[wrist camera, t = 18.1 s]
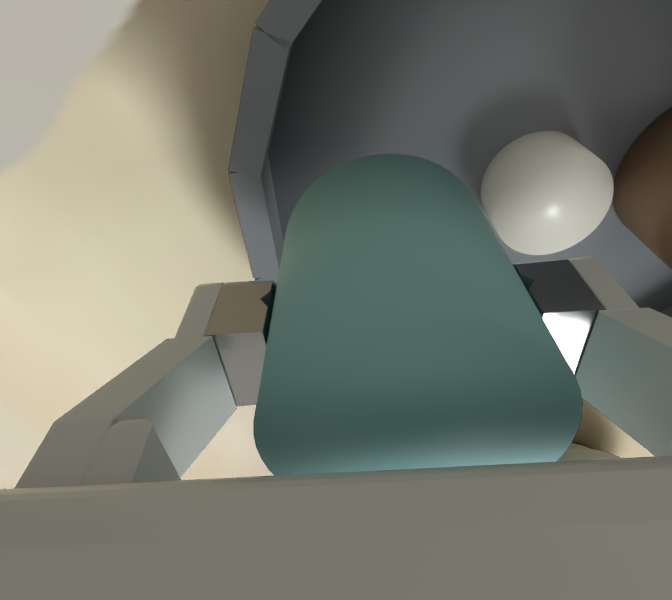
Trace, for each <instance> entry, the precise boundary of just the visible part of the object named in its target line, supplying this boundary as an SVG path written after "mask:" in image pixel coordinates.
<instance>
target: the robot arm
mask: <svg viewBox="0 0 672 600" xmlns="http://www.w3.org/2000/svg"><path fill="white" fill-rule="evenodd" d="M512 265H513V267H514V268H515V270H516V272H517V274H518V275H519V277H520V279H521V281H522V283H523V284H524V286H525V288H526V290H527V291H528V293H529V295H530V297H531V298H532V300H533V302H534V304H535V306H536V307H537V309H538V311H539V313H540V314H541V316H542V318H543V320H544V321H545V323H546V325H547V327H548V329H549V330H550V332H551V334H552V336H553V337H554V339H555V341H556V343H557V344H558V346H559V348H560V350H561V352H562V353H563V355H564V357H565V359H566V360H567V362H568V364H569V366H570V367H571V369H572V371H573V373H574V375H575V377H576V379H577V382H578V384H579V387H580V389H581V395H582V398H583V399H584V400H586V401H587V402H588V403H589V404H591V405H592V406H593V407H594V408H596V409H597V410H598V411H599V412H601V413H602V414H603V415H604V416H606V417H607V418H608V419H609V420H611V421H612V422H613V423H614V424H616V425H617V426H618V427H619V428H621V429H622V430H623V431H624V432H626V433H627V434H628V435H629V436H631V437H632V438H633V439H634V440H636V441H637V442H638V443H639V444H641V445H642V446H643V447H644V448H646V449H647V450H648V451H649V452H651V453H652V454H653V455H654V456H656V457H638V458H618V459H598V460H578V461H557V462H538V463H518V464H498V465H478V466H458V467H438V468H418V469H398V470H378V471H358V472H338V473H318V474H298V475H277V476H257V477H237V478H217V479H197V480H181V476H182V475H183V474H184V473H185V471H186V470H187V469H188V468H189V467H190V465H191V464H192V463H193V462H194V460H195V459H196V458H197V457H198V456H199V454H200V453H201V452H202V451H203V449H204V448H205V447H206V446H207V444H208V443H209V442H210V441H211V440H212V438H213V437H214V436H215V435H216V433H217V432H218V431H219V430H220V429H221V427H222V426H223V425H224V424H225V422H226V421H227V420H228V419H229V417H230V416H231V415H232V414H233V413H234V411H235V410H236V409H237V408H236V406H245V405H256V404H257V398H258V393H259V387H260V381H261V375H262V369H263V363H264V357H265V351H266V346H267V340H268V334H269V328H270V322H271V316H272V310H273V304H274V299H275V293H276V287H277V284H276V282H275V281H274V280H268V281H248V282H228V283H212V284H200V285H199V286H197V287H196V288H195V290H194V293H193V295H192V297H191V300H190V302H189V305H188V307H187V309H186V312H185V314H184V317H183V319H182V321H181V324H180V326H179V329H178V331H177V333H176V336H175V338H173V339H166V340H165V341H163V342H162V343H161V344H159V345H158V346H157V347H155V348H154V349H153V350H151V351H150V352H148V353H147V354H146V355H144V356H143V357H142V358H140V359H139V360H138V361H136V362H135V363H134V364H132V365H131V366H129V367H128V368H127V369H125V370H124V371H123V372H121V373H120V374H119V375H117V376H116V377H115V378H113V379H112V380H110V381H109V382H108V383H106V384H105V385H104V386H102V387H101V388H100V389H98V390H97V391H96V392H94V393H93V394H91V395H90V396H89V397H87V398H86V399H85V400H83V401H82V402H81V403H79V404H78V405H77V406H75V407H74V408H72V409H71V410H70V411H68V412H67V413H66V414H64V415H63V416H62V417H60V418H59V419H58V420H56V421H55V422H54V423H53V425H52V426H51V428H50V430H49V431H48V433H47V435H46V436H45V438H44V440H43V441H42V443H41V445H40V446H39V448H38V450H37V451H36V453H35V455H34V456H33V458H32V460H31V461H30V463H29V465H28V467H27V468H26V470H25V472H24V473H23V475H22V477H21V478H20V480H19V482H18V483H17V485H16V487H15V488H14V489H0V600H672V318H671V317H669V316H667V315H665V314H662V313H660V312H658V311H656V310H653V309H651V308H639V307H638V305H637V304H636V303H635V302H634V301H633V300H632V299H631V297H630V296H629V295H628V294H627V293H626V292H625V290H624V289H623V288H622V287H621V286H620V285H619V284H618V282H617V281H616V280H615V279H614V278H613V277H612V275H611V274H610V273H609V272H608V271H607V270H606V268H605V267H604V266H603V265H602V264H601V263H600V262H599V260H598V259H596V258H594V257H591V256H588V257H578V258H569V259H563V260H553V261H541V262H529V263H517V264H512Z"/></svg>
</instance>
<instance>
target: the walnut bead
mask: <svg viewBox="0 0 672 600" xmlns="http://www.w3.org/2000/svg"><path fill="white" fill-rule="evenodd" d="M613 205H614V209H615V212H616V214H617V216H618V218H619V219H620V221H621V222H622V224H624V225H625V226H626V227H627V228H628V229H629V230H630V231H631V232H632V233H633V234H634V235H635V236H636V237H637V238H638V239H639V240H640V241H641V242H643V243H644V244H645V245H646V246H647V247H648V248H649V249H650V250H651V251H652V252H653V253H654V254H655V255H656V256H657V257H658V258H659V259H661V260H662V261H663V262H664V263H665V264H666V265H667V266H668V267H669V268H670V269H671V270H672V107H670V108H669V109H668V110H666V111H665V112H664V113H662V114H661V115H660V116H658V117H657V118H656V119H655V120H654V121H653V122H652V123H650V124H649V125H648V126H647V127H646V128H645V129H644V130H643V131H642V133H641V134H640V135H639V136H638V137H637V138H636V140H635V141H634V142H633V143H632V145H631V146H630V148H629V149H628V151H627V152H626V154H625V155H624V157H623V159H622V161H621V163H620V165H619V168H618V171H617V173H616V176H615V180H614V192H613Z"/></svg>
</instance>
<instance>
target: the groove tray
mask: <svg viewBox="0 0 672 600" xmlns="http://www.w3.org/2000/svg"><path fill="white" fill-rule="evenodd" d="M255 24H256V25H257V26H256V27H254V28H253V33H252V39H251V44H250V50H249V56H248V61H247V67H246V72H245V78H244V84H243V89H242V95H241V101H240V106H239V112H238V118H237V123H236V129H235V134H234V140H233V146H232V151H231V157H230V163H229V168H228V170H230V171H229V174H228V175H229V179H230V183H231V187H232V191H233V195H234V200H235V204H236V208H237V212H238V216H239V220H240V225H241V229H242V233H243V237H244V241H245V245H246V250H247V254H248V258H249V262H250V266H251V270H252V275H253V278H255V281H268V280H274V281H275V282H276V284H277V281H278V275H279V269H280V263H281V257H282V252H283V246H284V240H285V234H286V229H287V224H288V222H289V219H290V216H291V213H292V211H293V210H294V208H295V206H296V204H297V202H298V201H299V199H300V198H301V197H302V195H303V194H304V193H305V191H306V190H307V189H308V188H309V187H310V186H311V185H312V184H313V183H314V182H315V181H317V180H318V179H319V178H320V177H322V176H323V175H324V174H326V173H327V172H329V171H331V170H332V169H334V168H336V167H337V166H339V165H342V164H344V163H346V162H349V161H351V160H354V159H358V158H361V157H365V156H370V155H377V154H405V155H412V156H416V157H420V158H424V159H427V160H429V161H432V162H434V163H437V164H439V165H441V166H442V167H444V168H446V169H447V170H449V171H450V172H452V173H453V174H454V175H455V176H457V177H458V178H459V179H460V180H461V181H462V182H463V183H464V184H465V185H466V186H467V187H468V189H469V190H470V192H471V193H472V195H473V196H474V198H475V199H476V201H477V203H478V205H479V206H480V208H481V210H482V212H483V214H484V215H485V217H486V219H487V221H488V222H489V224H490V226H491V228H492V229H493V231H494V233H495V235H496V237H497V238H498V240H499V242H500V244H501V245H502V247H503V249H504V251H505V252H506V254H507V256H508V258H509V260H510V261H511V263H512V264H517V263H529V262H541V261H553V260H563V259H569V258H578V257H588V256H591V257H594V258H596V259H598V260H599V262H600V263H601V264H602V265H603V266H604V267H605V268H606V270H607V271H608V272H609V273H610V274H611V275H612V277H613V278H614V279H615V280H616V281H617V282H618V284H619V285H620V286H621V287H622V288H623V289H624V290H625V292H626V293H627V294H628V295H629V296H630V297H631V299H632V300H633V301H634V302H635V303H636V304H637V305H638V307H639V308H651V309H653V310H656V311H658V312H660V313H662V314H665V315H667V316H669V317H671V318H672V270H671V269H670V268H669V267H668V266H667V265H666V264H665V263H664V262H663V261H662V260H661V259H659V258H658V257H657V256H656V255H655V254H654V253H653V252H652V251H651V250H650V249H649V248H648V247H647V246H646V245H645V244H644V243H643V242H641V241H640V240H639V239H638V238H637V237H636V236H635V235H634V234H633V233H632V232H631V231H630V230H629V229H628V228H627V227H626V226H625V225H624V224H622V222H621V221H620V219H619V218H618V216H617V214H616V212H615V209H614V205H613V192H614V180H615V176H616V173H617V171H618V168H619V165H620V163H621V161H622V159H623V157H624V155H625V154H626V152H627V151H628V149H629V148H630V146H631V145H632V143H633V142H634V141H635V140H636V138H637V137H638V136H639V135H640V134H641V133H642V131H643V130H644V129H645V128H646V127H647V126H648V125H649V124H650V123H652V122H653V121H654V120H655V119H656V118H657V117H658V116H660V115H661V114H662V113H664V112H665V111H666V110H668V109H669V108H670V107H672V0H270V1H269V2H268V4H267V6H266V7H265V9H264V10H263V12H262V14H261V15H260V17H259V18H258V20H257V22H256V23H255Z"/></svg>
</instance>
